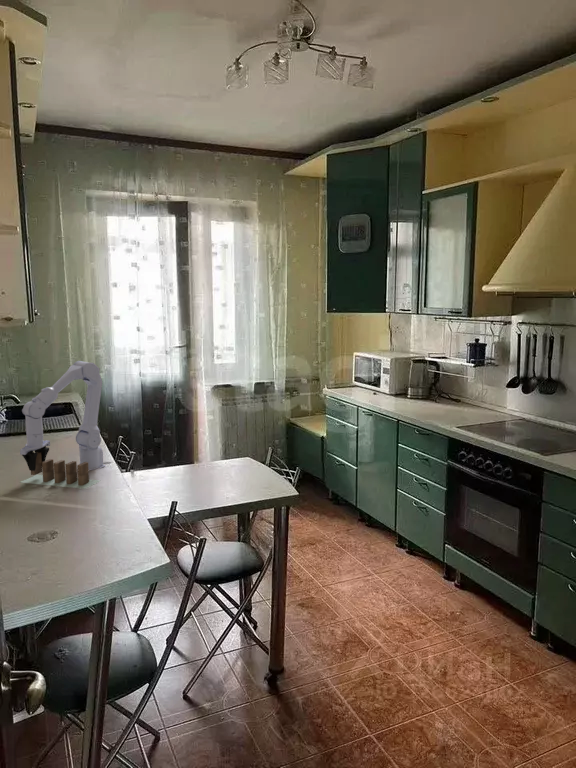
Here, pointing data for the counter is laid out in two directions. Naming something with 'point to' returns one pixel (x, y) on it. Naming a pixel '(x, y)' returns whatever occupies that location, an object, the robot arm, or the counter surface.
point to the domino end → (83, 473)
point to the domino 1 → (38, 464)
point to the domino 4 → (71, 472)
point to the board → (39, 480)
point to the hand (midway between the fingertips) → (36, 468)
